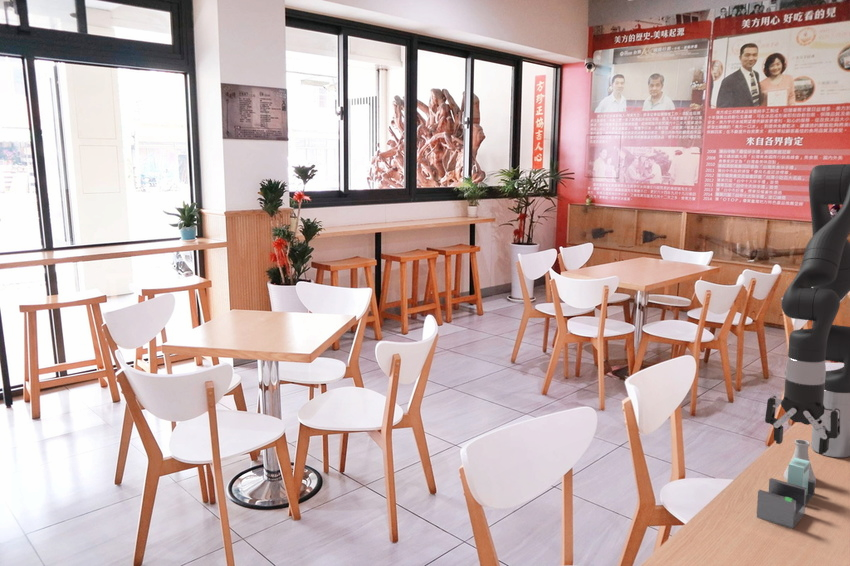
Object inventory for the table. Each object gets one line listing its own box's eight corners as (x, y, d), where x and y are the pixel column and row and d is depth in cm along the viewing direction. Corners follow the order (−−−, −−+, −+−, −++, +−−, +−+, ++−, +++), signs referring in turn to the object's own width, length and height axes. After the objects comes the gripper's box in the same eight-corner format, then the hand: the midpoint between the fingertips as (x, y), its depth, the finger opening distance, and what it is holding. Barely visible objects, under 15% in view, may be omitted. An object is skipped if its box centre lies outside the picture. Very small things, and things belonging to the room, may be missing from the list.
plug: (792, 490, 150) (794, 457, 149) (807, 494, 148) (810, 461, 147) (786, 497, 147) (788, 464, 146) (801, 501, 145) (803, 468, 143)
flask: (822, 489, 151) (825, 449, 149) (787, 487, 153) (790, 447, 151) (810, 475, 158) (813, 436, 156) (777, 473, 159) (780, 434, 158)
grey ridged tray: (790, 488, 152) (791, 473, 152) (814, 495, 149) (815, 480, 148) (778, 501, 147) (779, 486, 146) (803, 509, 143) (804, 493, 142)
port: (769, 505, 145) (771, 475, 144) (804, 516, 140) (806, 485, 139) (755, 520, 140) (757, 489, 138) (792, 532, 135) (794, 500, 133)
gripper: (847, 380, 140) (841, 451, 143) (775, 367, 150) (771, 434, 153) (837, 389, 135) (831, 463, 138) (764, 375, 145) (759, 444, 148)
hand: (799, 448), depth 145 cm, fingers open, 8 cm apart
